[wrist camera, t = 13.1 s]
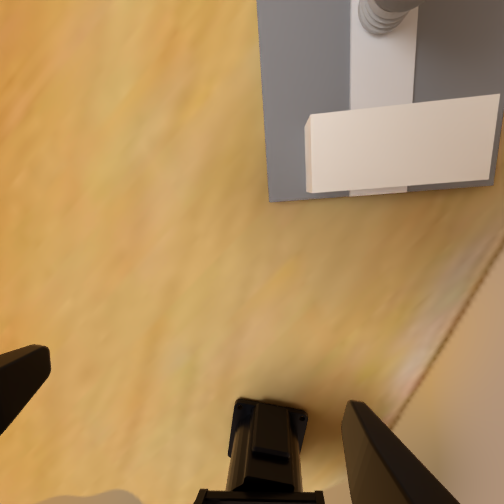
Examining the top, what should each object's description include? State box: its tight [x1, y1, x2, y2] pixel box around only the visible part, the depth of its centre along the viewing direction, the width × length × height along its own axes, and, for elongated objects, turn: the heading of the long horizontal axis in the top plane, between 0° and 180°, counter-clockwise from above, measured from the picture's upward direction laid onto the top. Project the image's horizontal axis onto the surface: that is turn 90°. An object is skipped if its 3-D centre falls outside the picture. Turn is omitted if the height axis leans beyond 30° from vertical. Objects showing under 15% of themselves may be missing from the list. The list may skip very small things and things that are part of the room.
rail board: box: [257, 0, 504, 202], centre depth 14 cm, size 20×14×4 cm
